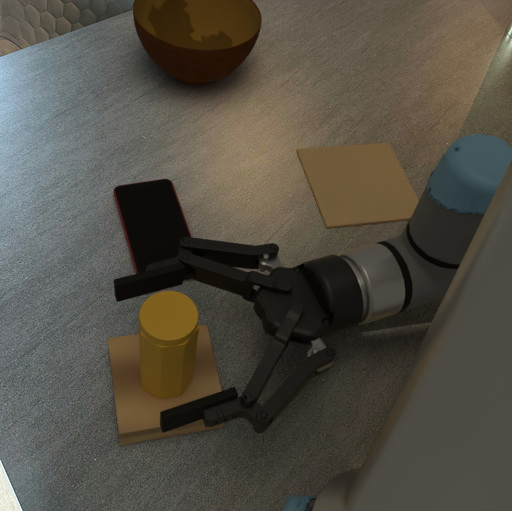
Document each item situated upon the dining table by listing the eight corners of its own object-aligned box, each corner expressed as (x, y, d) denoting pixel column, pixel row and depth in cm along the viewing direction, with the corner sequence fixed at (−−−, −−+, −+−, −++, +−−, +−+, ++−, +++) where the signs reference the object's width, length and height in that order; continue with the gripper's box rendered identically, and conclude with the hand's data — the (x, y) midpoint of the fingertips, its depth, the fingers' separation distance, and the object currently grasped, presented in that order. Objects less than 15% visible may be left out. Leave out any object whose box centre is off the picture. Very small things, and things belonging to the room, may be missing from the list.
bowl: (250, 117, 89) (260, 57, 81) (125, 102, 88) (123, 40, 80) (253, 45, 100) (262, -14, 92) (142, 30, 98) (141, -31, 91)
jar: (195, 394, 59) (203, 335, 51) (144, 402, 58) (143, 344, 50) (186, 349, 62) (192, 287, 54) (137, 356, 61) (135, 294, 52)
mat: (426, 218, 82) (427, 216, 82) (326, 228, 79) (327, 226, 78) (388, 144, 90) (389, 142, 90) (296, 150, 86) (296, 148, 86)
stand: (224, 427, 61) (233, 391, 55) (120, 446, 59) (116, 411, 52) (204, 338, 67) (210, 297, 60) (109, 352, 64) (104, 310, 58)
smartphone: (139, 284, 68) (111, 185, 76) (139, 289, 69) (112, 190, 77) (204, 271, 71) (170, 177, 79) (203, 276, 71) (170, 182, 79)
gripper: (398, 418, 58) (182, 503, 51) (286, 222, 71) (101, 267, 64) (426, 382, 53) (187, 472, 45) (299, 175, 65) (96, 220, 58)
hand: (136, 352), depth 55 cm, fingers open, 13 cm apart
